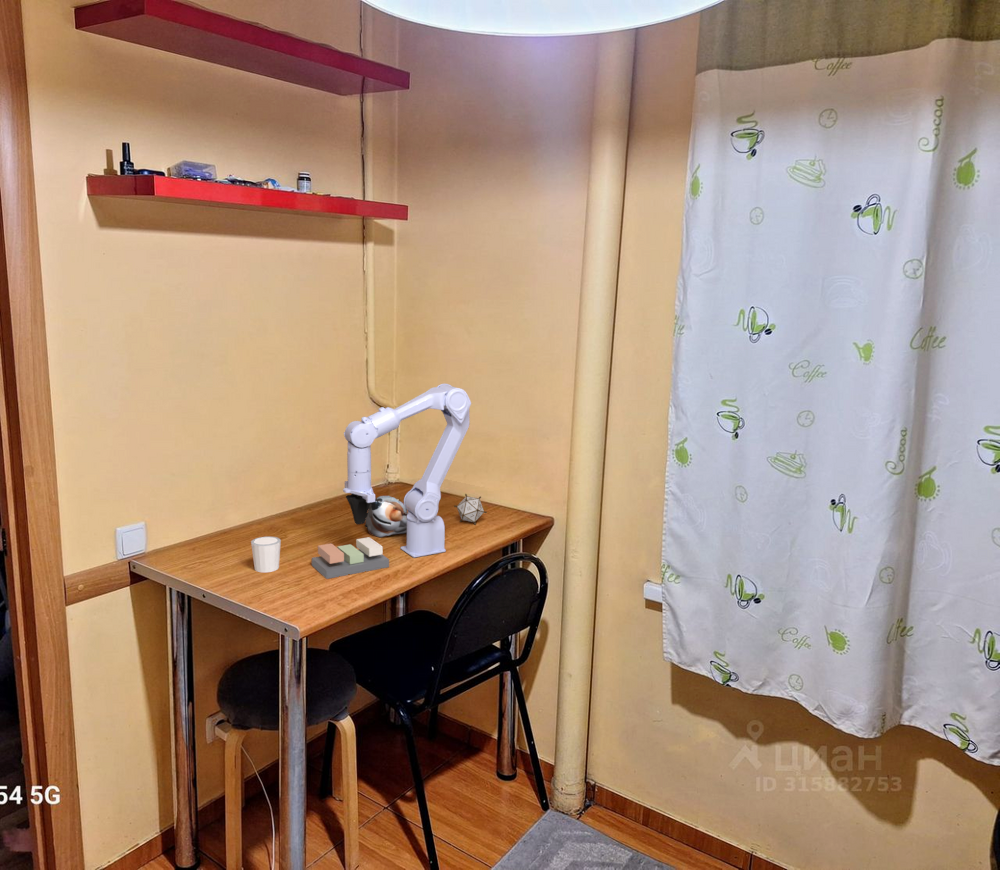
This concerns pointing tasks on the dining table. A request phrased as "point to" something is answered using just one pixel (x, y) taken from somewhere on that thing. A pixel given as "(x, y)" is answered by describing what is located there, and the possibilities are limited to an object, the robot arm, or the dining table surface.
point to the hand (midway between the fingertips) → (359, 523)
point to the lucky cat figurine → (386, 517)
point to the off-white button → (369, 546)
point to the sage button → (351, 554)
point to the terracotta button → (330, 553)
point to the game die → (470, 509)
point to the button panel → (349, 566)
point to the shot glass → (266, 553)
